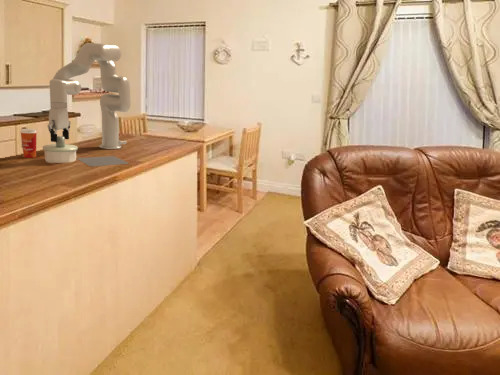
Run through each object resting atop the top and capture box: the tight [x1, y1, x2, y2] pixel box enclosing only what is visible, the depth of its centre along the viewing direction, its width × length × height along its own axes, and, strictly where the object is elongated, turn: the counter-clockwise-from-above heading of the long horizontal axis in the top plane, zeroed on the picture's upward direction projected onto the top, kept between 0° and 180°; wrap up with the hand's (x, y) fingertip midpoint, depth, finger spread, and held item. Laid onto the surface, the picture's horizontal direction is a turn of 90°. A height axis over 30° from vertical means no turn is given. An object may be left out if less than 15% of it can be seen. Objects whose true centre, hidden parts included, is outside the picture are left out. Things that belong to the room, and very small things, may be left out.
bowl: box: [43, 150, 77, 164], centre depth 215 cm, size 14×14×6 cm
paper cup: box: [19, 128, 38, 159], centre depth 217 cm, size 8×8×14 cm
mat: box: [76, 155, 130, 168], centre depth 221 cm, size 20×20×1 cm
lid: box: [42, 135, 79, 152], centre depth 214 cm, size 16×16×6 cm
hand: (60, 140), depth 214 cm, fingers open, 9 cm apart
